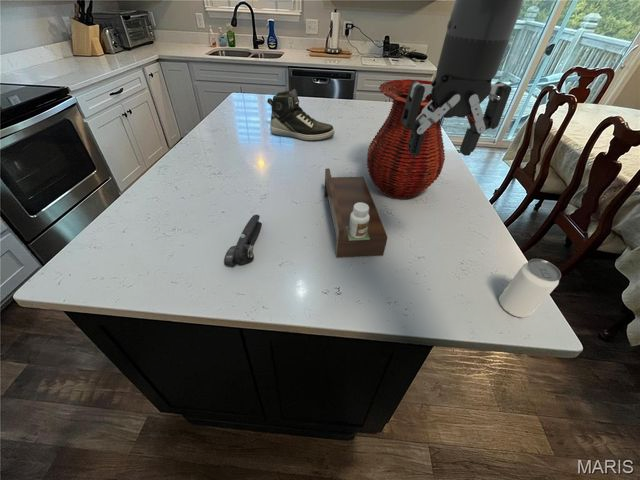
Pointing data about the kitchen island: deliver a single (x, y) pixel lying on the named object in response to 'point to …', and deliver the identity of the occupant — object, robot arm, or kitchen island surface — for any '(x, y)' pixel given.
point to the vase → (404, 149)
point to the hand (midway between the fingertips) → (439, 154)
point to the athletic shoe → (295, 119)
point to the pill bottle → (359, 220)
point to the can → (529, 287)
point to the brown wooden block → (342, 203)
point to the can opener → (244, 244)
